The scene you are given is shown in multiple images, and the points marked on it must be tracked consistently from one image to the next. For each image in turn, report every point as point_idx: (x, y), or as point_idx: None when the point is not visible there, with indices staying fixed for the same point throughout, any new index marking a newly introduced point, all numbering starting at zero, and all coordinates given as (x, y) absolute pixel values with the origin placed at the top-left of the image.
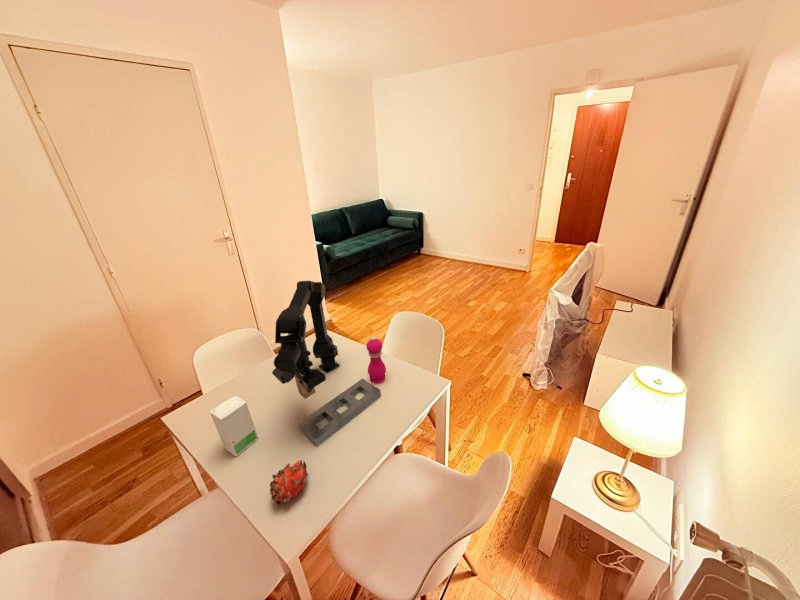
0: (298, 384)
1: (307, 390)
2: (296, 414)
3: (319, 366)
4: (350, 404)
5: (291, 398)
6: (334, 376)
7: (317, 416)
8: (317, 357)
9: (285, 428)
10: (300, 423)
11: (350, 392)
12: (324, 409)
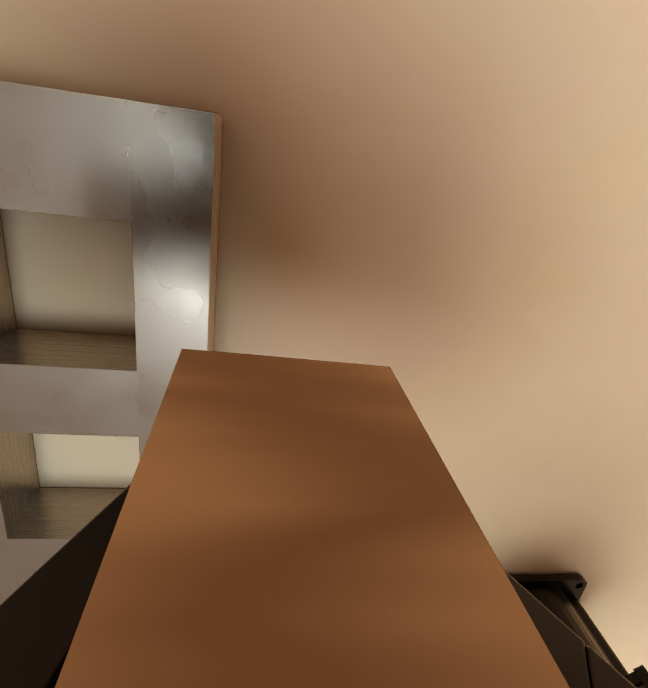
0: (366, 568)
1: None
2: (397, 217)
3: (579, 581)
4: (46, 526)
5: (564, 304)
6: None
7: (134, 292)
8: (633, 681)
9: (356, 39)
10: (190, 122)
11: None
12: (155, 382)
